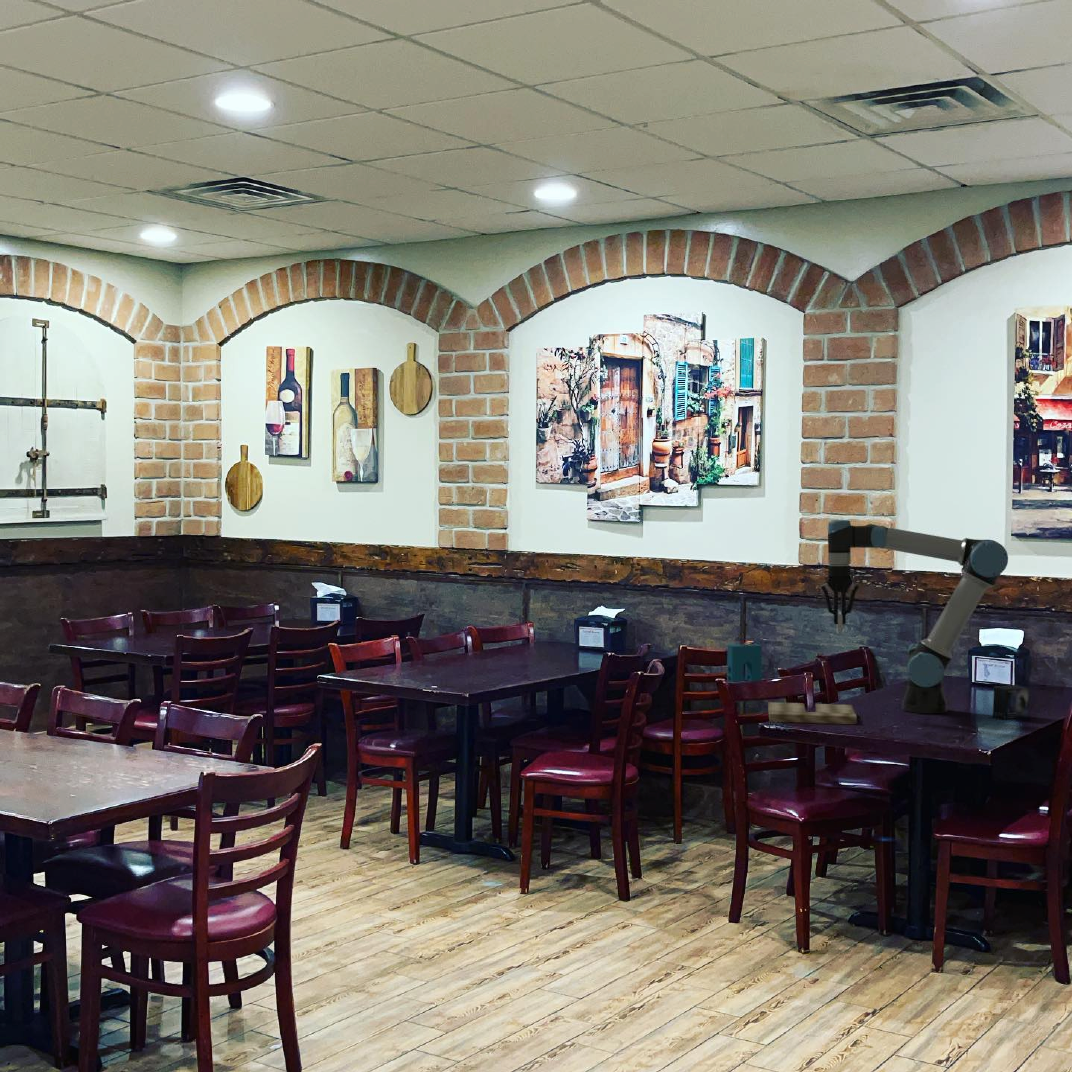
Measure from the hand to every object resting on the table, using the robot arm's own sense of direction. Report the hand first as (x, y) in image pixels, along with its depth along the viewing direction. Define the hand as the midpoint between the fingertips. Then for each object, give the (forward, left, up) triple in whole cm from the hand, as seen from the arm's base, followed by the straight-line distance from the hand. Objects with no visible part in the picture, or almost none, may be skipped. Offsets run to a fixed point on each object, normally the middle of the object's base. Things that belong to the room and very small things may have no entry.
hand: (839, 633), depth 466 cm
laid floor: (+10, +20, -27) cm, 35 cm away
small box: (-57, 0, -27) cm, 63 cm away
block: (+32, -19, -27) cm, 46 cm away
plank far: (+18, +10, -27) cm, 34 cm away
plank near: (+2, +10, -27) cm, 29 cm away
